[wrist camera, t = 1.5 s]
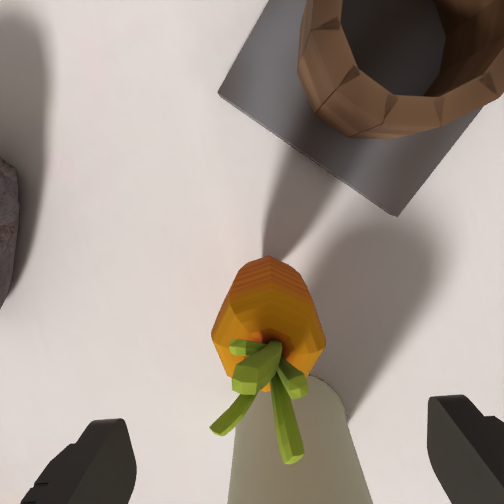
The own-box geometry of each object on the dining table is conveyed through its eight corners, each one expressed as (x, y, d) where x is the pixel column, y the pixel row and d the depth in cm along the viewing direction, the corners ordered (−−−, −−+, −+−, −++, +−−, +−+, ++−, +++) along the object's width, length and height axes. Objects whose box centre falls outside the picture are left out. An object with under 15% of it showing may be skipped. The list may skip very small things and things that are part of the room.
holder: (541, 19, 19) (701, -69, 12) (390, 214, 22) (447, 234, 15) (352, -137, 18) (410, -338, 11) (220, 96, 21) (197, 59, 14)
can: (256, 356, 25) (248, 513, 14) (363, 392, 26) (444, 573, 14) (221, 445, 28) (189, 643, 16) (320, 476, 28) (359, 691, 16)
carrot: (297, 301, 24) (347, 499, 10) (232, 297, 24) (183, 487, 10) (303, 236, 23) (371, 351, 8) (234, 232, 23) (182, 339, 8)
